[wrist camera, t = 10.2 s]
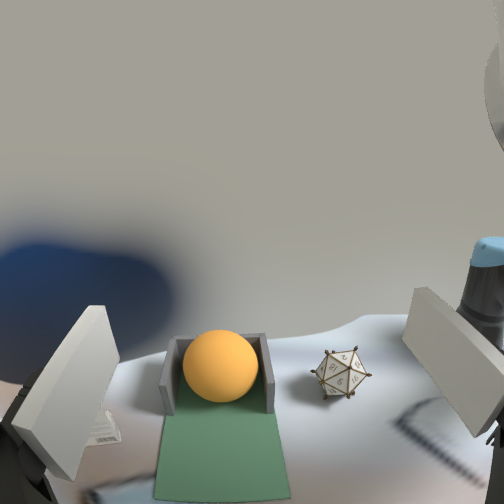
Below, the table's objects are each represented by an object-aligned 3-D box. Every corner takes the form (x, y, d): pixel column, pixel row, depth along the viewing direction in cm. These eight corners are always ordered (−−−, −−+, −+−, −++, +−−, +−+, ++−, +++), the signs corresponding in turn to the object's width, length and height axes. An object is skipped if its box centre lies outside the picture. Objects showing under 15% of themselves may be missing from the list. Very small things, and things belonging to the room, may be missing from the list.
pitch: (265, 363, 51) (266, 331, 49) (290, 498, 26) (296, 474, 24) (176, 365, 50) (170, 334, 48) (154, 499, 25) (137, 474, 22)
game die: (321, 406, 45) (290, 364, 45) (355, 373, 48) (328, 330, 48) (353, 420, 36) (320, 373, 36) (389, 380, 40) (361, 332, 40)
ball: (259, 416, 37) (244, 388, 48) (272, 343, 38) (253, 327, 49) (179, 411, 35) (179, 381, 46) (187, 334, 36) (187, 319, 47)
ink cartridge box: (55, 437, 31) (26, 392, 27) (120, 431, 35) (99, 385, 31) (54, 449, 28) (23, 405, 25) (122, 443, 33) (99, 398, 29)
